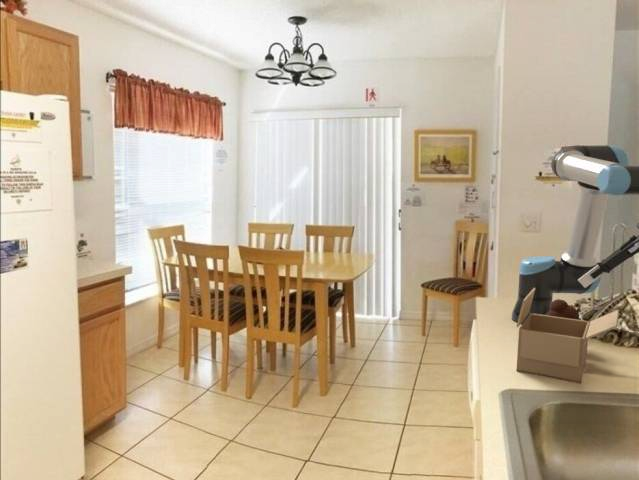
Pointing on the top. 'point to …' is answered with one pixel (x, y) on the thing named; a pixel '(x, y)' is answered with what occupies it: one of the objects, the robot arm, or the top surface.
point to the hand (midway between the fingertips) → (581, 283)
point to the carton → (553, 347)
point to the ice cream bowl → (562, 310)
